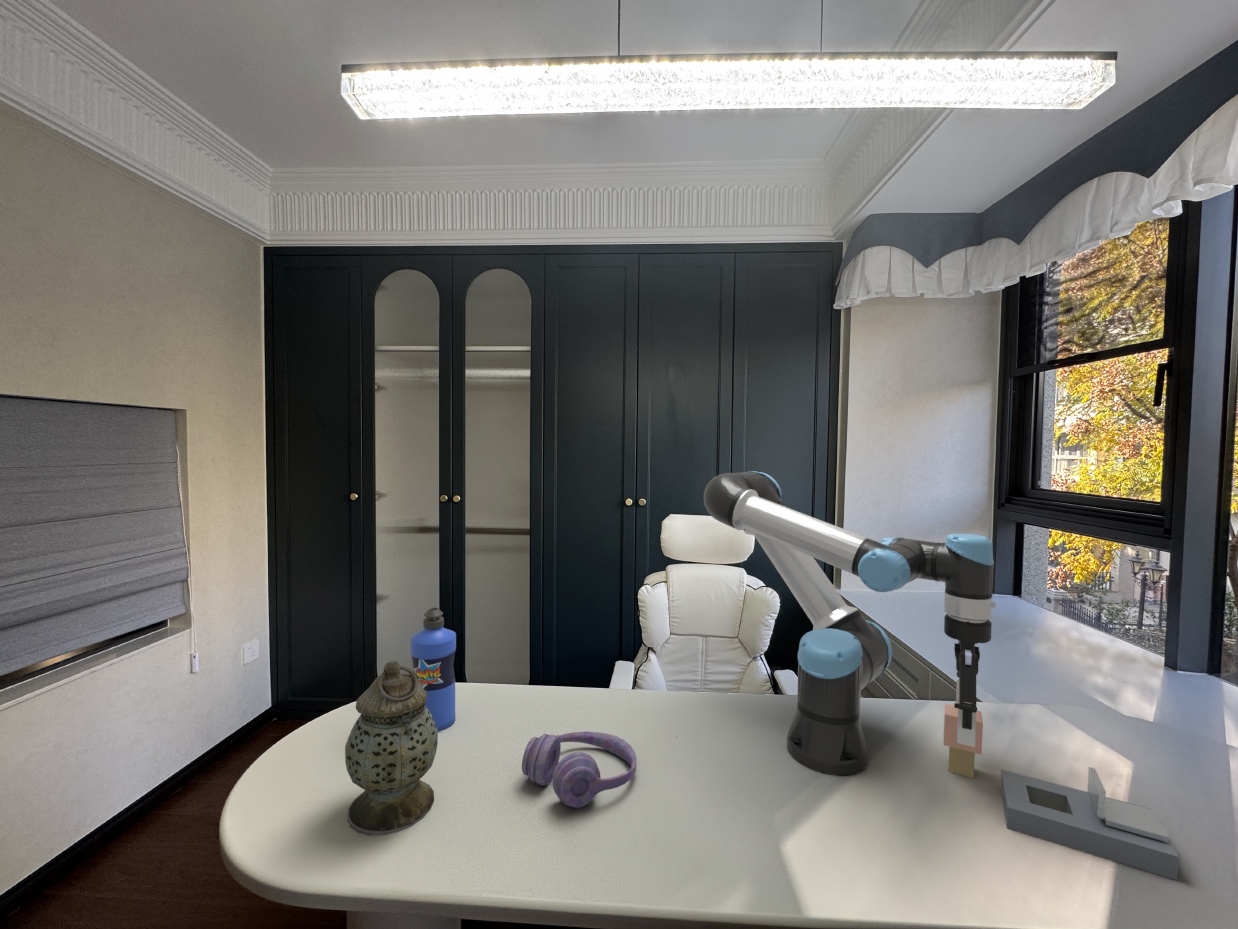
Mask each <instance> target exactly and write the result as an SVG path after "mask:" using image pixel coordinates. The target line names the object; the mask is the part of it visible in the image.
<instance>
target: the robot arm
mask: <svg viewBox="0 0 1238 929" xmlns="http://www.w3.org/2000/svg"><path fill="white" fill-rule="evenodd" d="M782 495H783V493H782V489H781V487H780V485H779V484H778V482H777V480H776V479H774V477H772V476H771V475H769V474H767V473H765V472H759V471H754V470H749V471H745V472H744V471H743V472H728V473H727V472H723V473H721V474H719V475H716V476H715V477H712V479H711V480H709V482H708V483H707V484H706V487H705V489H704V492H703V503H704V507H705V508H706V509H705V510H706V511H707V513H708V514H709V515H710V516H711V517H712V518H713V519H714V520H715V521H717V522H719V523H721V524H724V525H726V526H728V527H730V528H733V529H735V530H737V531H743V532H744V534H746V535H751V536H752V537H755V539H756V541H757V542H758V543H759V545H760V546H761V548H762V550H763V551H764V553H765V555H766V556H767V557H768V558H769V560H770V561H771V564H773V566H774V568H775V569H776V571H777V572H778V574H779V575H780V577H781V578H782V580H783V581H784V583H785V584H786V586H787V587H788V588H789V590H790V592H791V593H792V595H793V596H794V598H795V599H796V601H797V602H798V603H799V606H800V607H801V608H802V610H803V612H804V613H805V615H806V616H807V618H808V619H809V620H810V622H811V624H812V625H813V626H812V627H813V628H812V630H810V631H808V632H806V633H805V634H803V636H802V637H801V638H800V641H799V646H798V650H797V664H798V666H797V702H796V703H797V704H796V711H795V714H794V716H793V718H792V721H791V724H790V726H789V729H788V731H787V737H786V738H787V739H786V740H787V741H786V748H787V750H788V752H789V754H790V755H791V756H792V757H793V759H794V760H796V761H798V762H799V763H800V764H802V765H804V766H805V767H807V768H810V769H812V770H814V771H817V772H821V773H823V774H824V773H825V774H830V775H839V776H840V775H841V776H848V775H854V774H857V773H861V772H862V771H864V770H865V769H866V767H867V766H868V762H869V750H868V749H869V748H868V745H867V742H866V739H865V738H866V737H865V735H864V732H863V728H862V724H861V721H860V712H861V710H860V709H861V692H862V690H863V689H865V687H867V686H868V685H869V684H870V683H872V682H873V681H875V680H876V679H877V678H880V677H881V676H883V674H884V673H885V672H886V670H887V669H888V667H889V666H890V664H891V662H892V657H893V648H892V643H891V641H890V638H889V636H888V635H887V633H886V632H885V631H884V630H883V629H882V628H881V626H880V625H878V624H877V623H875V622H872V621H869V620H868V619H866V618H865V617H864V615H863V613H862V612H861V611H860V609H859V608H858V607H854V606H849V605H847V603H846V602H845V600H844V599H843V598H842V596H841V595H840V593H839V592H838V590H837V589H836V588H835V586H834V585H833V583H832V582H831V581H830V579H829V578H828V576H827V574H826V573H825V572H824V571H823V569H822V567H820V564H818V562H817V561H816V560H819V561H822V562H823V563H825V564H828V565H829V566H830V565H831V566H833V567H835V568H836V569H837V568H838V569H840V570H842V571H845V572H847V573H849V574H852V575H854V576H856V577H858V578H859V579H860V580H861V582H862V583H863V584H864V585H865V586H866V587H867V588H868V589H870V590H872V591H873V592H877V593H888V592H893V591H896V590H900V589H901V588H903V587H904V586H906V584H908V583H911V582H913V581H914V580H916V579H921V580H926V581H927V580H928V581H935V582H942V583H944V584H945V585H944V586H945V588H944V602H943V603H944V604H943V605H944V609H943V610H944V612H945V613H946V614H945V615H944V620H943V621H944V625H943V627H944V630H943V632H944V634H945V635H946V636H947V637H948V638H950V639H953V640H957V643H956V642H954V650H953V651H954V657H955V663H956V664H955V665H956V666H955V669H956V671H957V672H956V676H957V678H956V681H955V682H956V687H955V688H956V690H955V691H956V692H955V694H956V695H955V702H954V708H958V730H957V743H960V744H964V745H968V746H972V747H975V735H976V712H977V711H978V707H977V675H979V662H980V659H981V652H980V647H979V646H976V644H977V645H978V644H987V643H989V642H990V641H991V640H992V621H990V619H991V618H992V613H993V612H992V609H993V608H994V609H995V608H996V607H997V604H996V602H994V601H993V583H994V564H995V561H994V551H993V550H994V549H993V541H992V540H991V538H989V537H986V536H984V535H979V534H973V533H971V534H970V533H960V532H959V533H950V534H948V535H947V536H946V538H945V539H946V540H945V541H944V542H935V541H928V540H927V541H925V540H919V539H912V538H905V537H900V536H899V537H888V536H887V537H886V536H885V537H884V538H881V540H880V542H879V541H876V540H872V539H870V538H869V537H866V536H863V535H860V534H857V533H856V532H853V531H851V530H848V529H846V528H845V529H844V528H842V527H840V526H837V525H834V524H833V523H830V522H827V521H825V520H824V521H823V520H821V519H819V518H815V517H813V516H811V515H808V514H805V513H803V512H800V511H797V510H795V509H792V508H789V507H788V506H785V504H784V503H783V501H782V500H783V499H782ZM815 559H816V560H815Z"/></svg>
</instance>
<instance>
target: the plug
mask: <svg viewBox="0 0 1238 929" xmlns="http://www.w3.org/2000/svg"><path fill="white" fill-rule="evenodd" d="M943 712H944V713H943V714H944V715H943V716H944V717H943V746H945V747H948V761H947V762H948V772H951V773H954V774H957V775H961V776H964V777H968V778H972V779H975V778H974V777H975V757H976V755H975V754H977V755H980V756H982V751H983V750H982V749H983V747H982V746H983V731H984V730H983V728H984V727H983V726H984V722H983V715H982V714H983V713H982V711H980V710H977V712H976V735H975V747H972V746H968V745H964V744H960V743H957V730H958V708H954V705H953V704H949V703H944V711H943Z"/></svg>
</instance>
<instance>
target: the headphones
mask: <svg viewBox="0 0 1238 929" xmlns="http://www.w3.org/2000/svg"><path fill="white" fill-rule="evenodd" d="M562 743H578V744H579V743H582V744H586V745H591V746H595V747H598V748H601V749H603V750H605V751H608V752H609V753H612V754H614V755H617V756H618V757H619V758H621V759H623V760H625V761H626V762H627V763H628V764H629V765H630V769H629V770H628V771H627V772H626V773H625V772H622V773H621V774H618V775H616V776H611V777H606V778H601V772H600V769H599V767H598V763H597V762H596V760H595V759H594V758H593V757H592V755H590V754H588V753H585V752H581V751H576V752H575V751H574V752H572V753H569V754H566V755H565V756H564V757H562V758H561V756H560V754H561V744H562ZM560 758H561V759H560ZM637 760H638V758H637V755H636V751H635V750H634V749H633V747H632V745H631V744H629V743H628V742H627V741H626V740H625V739H622V738H620V737H619V736H617V735H614V734H611V733H605V732H599V731H575V732H573V731H572V732H569V733H564V734H560V735H559V734H556V735H555V734H546V733H544V734H542V735H540V736H539V737H537V736H533V737H531V739H530V740H529V741H528V742H527V745H526V747H525V749H524V753H523V755H522V760H521V772H522V773H523V774H522V775H524V776H527V777H528V778H529V780H530V781H531V782H532V783H535V784H538V785H539V786H547V785H548V784H550V783H552V784H551V785H552V789H553V792H554V793H555V795H556V796H557V798H558V799H559V801H560V802H561V803H562V804H564V805H566V806H568V807H571V808H581V807H585V806H587V805H588V804H590V802H592V800H593V799H594V798H595V797H596V796H597V795H598V794H599V793H601V792H604V791H608V790H613V789H617V788H619V787H621V786H623V785H626V784H627V783H628V782H630V781H631V780H632V779H633V778H634V777H635V775H636V771H637Z"/></svg>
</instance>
